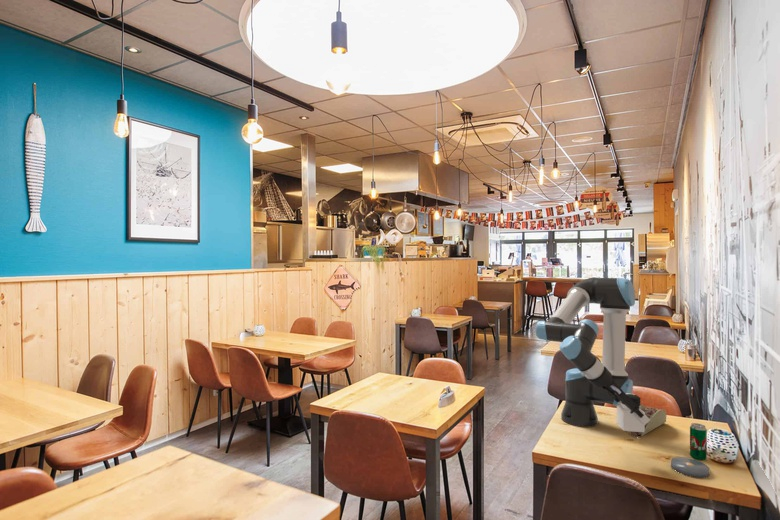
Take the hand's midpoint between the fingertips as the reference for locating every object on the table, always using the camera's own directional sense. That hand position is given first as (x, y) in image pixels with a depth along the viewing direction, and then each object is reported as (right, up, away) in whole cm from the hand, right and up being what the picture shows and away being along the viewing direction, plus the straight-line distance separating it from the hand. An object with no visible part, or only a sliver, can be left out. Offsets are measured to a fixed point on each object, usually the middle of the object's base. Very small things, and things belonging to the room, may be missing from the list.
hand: (639, 417), depth 157 cm
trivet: (+13, -15, -7) cm, 22 cm away
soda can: (+23, -16, +2) cm, 28 cm away
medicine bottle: (-3, -4, 0) cm, 5 cm away
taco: (+20, -16, +29) cm, 39 cm away
